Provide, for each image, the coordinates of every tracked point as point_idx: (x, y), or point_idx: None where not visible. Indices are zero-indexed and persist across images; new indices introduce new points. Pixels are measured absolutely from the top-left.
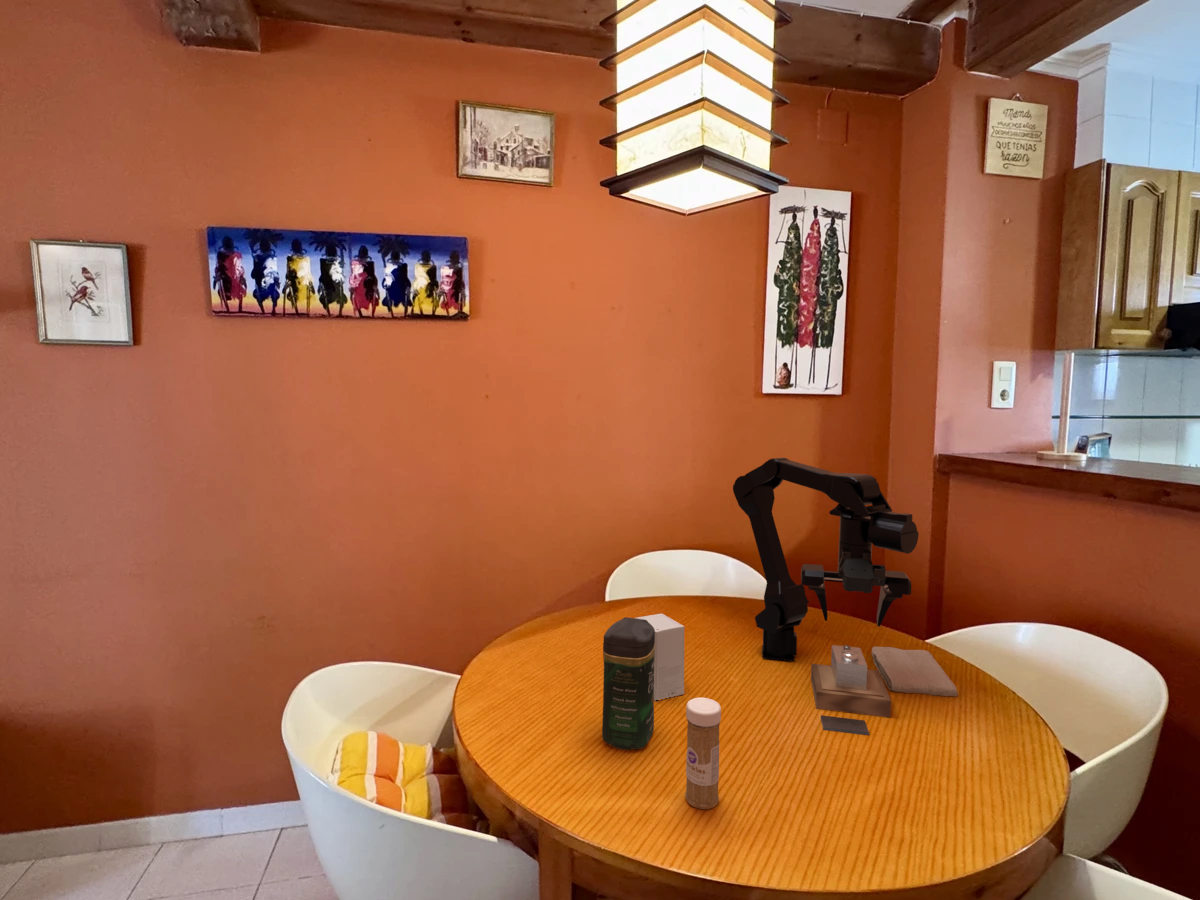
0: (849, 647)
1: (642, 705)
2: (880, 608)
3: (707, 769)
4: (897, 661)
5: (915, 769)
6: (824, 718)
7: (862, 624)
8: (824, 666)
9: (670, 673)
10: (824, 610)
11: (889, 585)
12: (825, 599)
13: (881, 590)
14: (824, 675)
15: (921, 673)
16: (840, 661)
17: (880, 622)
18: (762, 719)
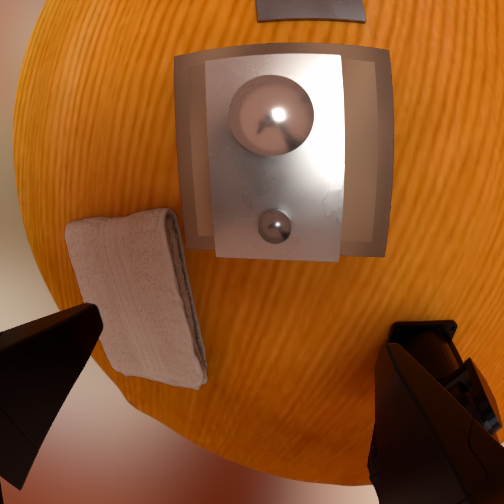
0: (263, 216)
1: None
2: (16, 357)
3: None
4: (151, 327)
5: None
6: (356, 8)
7: (220, 452)
8: (350, 234)
9: None
10: (430, 388)
11: None
12: (462, 470)
13: (3, 460)
14: (361, 160)
15: (106, 272)
16: (322, 67)
17: (70, 309)
18: (473, 20)
